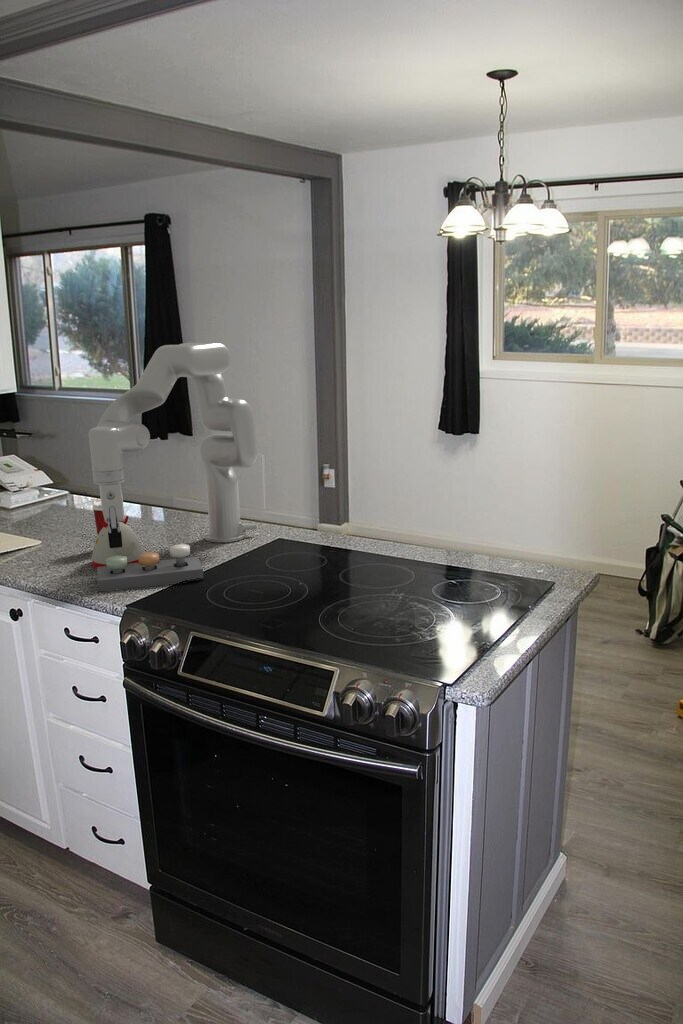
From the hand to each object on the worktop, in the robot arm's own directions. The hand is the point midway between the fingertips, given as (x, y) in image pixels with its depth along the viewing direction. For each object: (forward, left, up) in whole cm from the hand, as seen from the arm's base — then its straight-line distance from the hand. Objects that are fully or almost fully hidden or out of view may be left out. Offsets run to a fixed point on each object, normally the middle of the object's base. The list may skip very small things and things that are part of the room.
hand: (116, 546), depth 216 cm
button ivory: (-16, 0, -7) cm, 17 cm away
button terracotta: (-8, 0, -8) cm, 11 cm away
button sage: (0, 0, -8) cm, 8 cm away
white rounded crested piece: (0, -19, -10) cm, 21 cm away
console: (-8, 0, -10) cm, 12 cm away
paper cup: (+2, -34, -10) cm, 35 cm away
